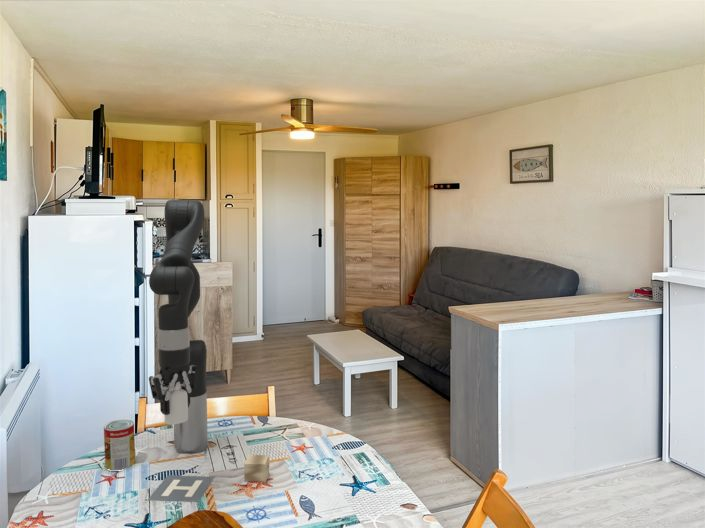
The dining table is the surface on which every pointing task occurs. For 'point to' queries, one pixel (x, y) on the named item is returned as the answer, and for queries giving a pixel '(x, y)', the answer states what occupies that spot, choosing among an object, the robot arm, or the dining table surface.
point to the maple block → (256, 468)
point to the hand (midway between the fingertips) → (175, 410)
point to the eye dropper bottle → (177, 406)
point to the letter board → (181, 488)
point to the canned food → (119, 444)
